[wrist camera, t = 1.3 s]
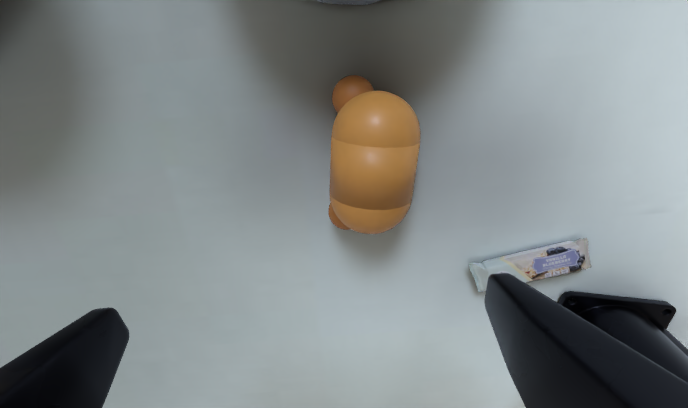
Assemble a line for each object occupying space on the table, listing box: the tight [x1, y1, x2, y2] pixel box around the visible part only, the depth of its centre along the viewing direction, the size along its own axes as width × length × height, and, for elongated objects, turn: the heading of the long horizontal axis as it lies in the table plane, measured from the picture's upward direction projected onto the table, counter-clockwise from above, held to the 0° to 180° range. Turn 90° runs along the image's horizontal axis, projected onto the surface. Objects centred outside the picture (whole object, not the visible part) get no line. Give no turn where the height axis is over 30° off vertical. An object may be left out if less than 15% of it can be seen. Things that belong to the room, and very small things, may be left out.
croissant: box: [329, 75, 420, 234], centre depth 16 cm, size 5×9×4 cm, turn 177°
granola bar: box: [469, 238, 591, 292], centre depth 19 cm, size 7×2×1 cm, turn 110°
